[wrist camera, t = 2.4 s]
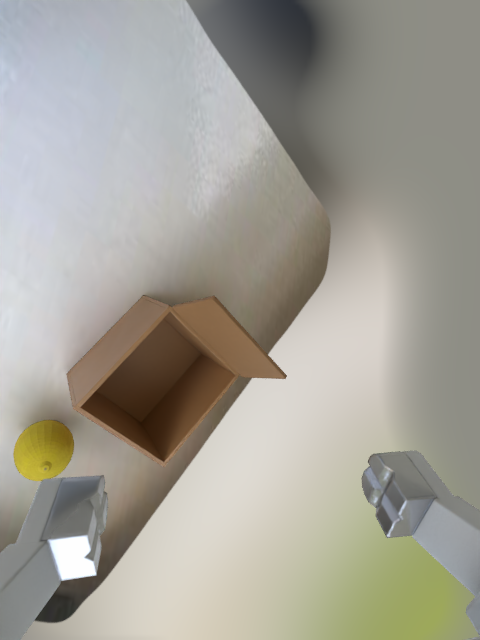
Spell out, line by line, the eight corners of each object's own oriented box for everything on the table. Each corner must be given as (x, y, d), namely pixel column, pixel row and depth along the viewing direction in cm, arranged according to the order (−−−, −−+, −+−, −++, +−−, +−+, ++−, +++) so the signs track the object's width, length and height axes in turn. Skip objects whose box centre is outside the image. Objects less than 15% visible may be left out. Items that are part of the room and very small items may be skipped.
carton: (66, 373, 39) (72, 408, 30) (143, 294, 42) (170, 305, 33) (140, 425, 45) (164, 467, 36) (203, 352, 48) (240, 374, 39)
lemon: (37, 463, 39) (35, 507, 32) (4, 431, 37) (-5, 470, 30) (81, 432, 41) (88, 467, 34) (52, 399, 39) (54, 430, 32)
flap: (212, 298, 28) (214, 295, 28) (171, 307, 33) (173, 305, 33) (285, 379, 34) (287, 375, 34) (242, 377, 38) (243, 374, 38)
